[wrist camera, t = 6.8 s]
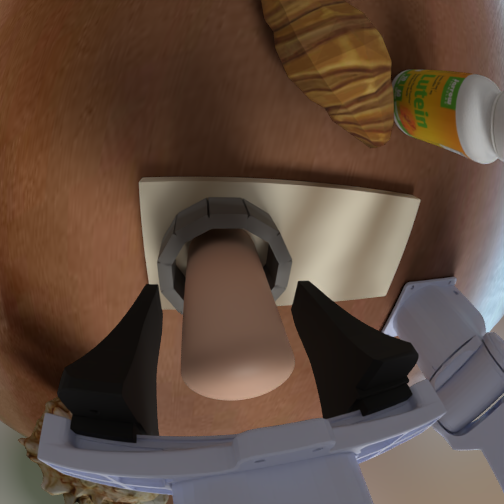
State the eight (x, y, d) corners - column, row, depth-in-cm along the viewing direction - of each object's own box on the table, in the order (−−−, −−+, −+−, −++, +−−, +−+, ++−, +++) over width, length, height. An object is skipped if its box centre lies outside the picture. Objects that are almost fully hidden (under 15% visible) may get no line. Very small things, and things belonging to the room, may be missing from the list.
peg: (257, 223, 17) (303, 328, 9) (254, 282, 19) (286, 394, 11) (185, 225, 16) (172, 337, 8) (190, 285, 18) (188, 402, 10)
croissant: (211, -1, 10) (216, -37, 6) (302, -36, 9) (334, -67, 5) (330, 166, 17) (370, 191, 13) (399, 121, 16) (448, 135, 12)
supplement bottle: (386, 61, 13) (505, 66, 5) (436, 78, 14) (540, 100, 5) (384, 133, 16) (498, 178, 8) (433, 141, 16) (531, 185, 8)
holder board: (413, 195, 19) (441, 213, 16) (380, 289, 24) (398, 313, 21) (142, 177, 15) (128, 196, 12) (154, 300, 20) (149, 334, 17)
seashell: (11, 503, 5) (27, 489, 12) (198, 535, 14) (150, 517, 21) (34, 339, 19) (39, 380, 26) (187, 391, 27) (147, 415, 34)
